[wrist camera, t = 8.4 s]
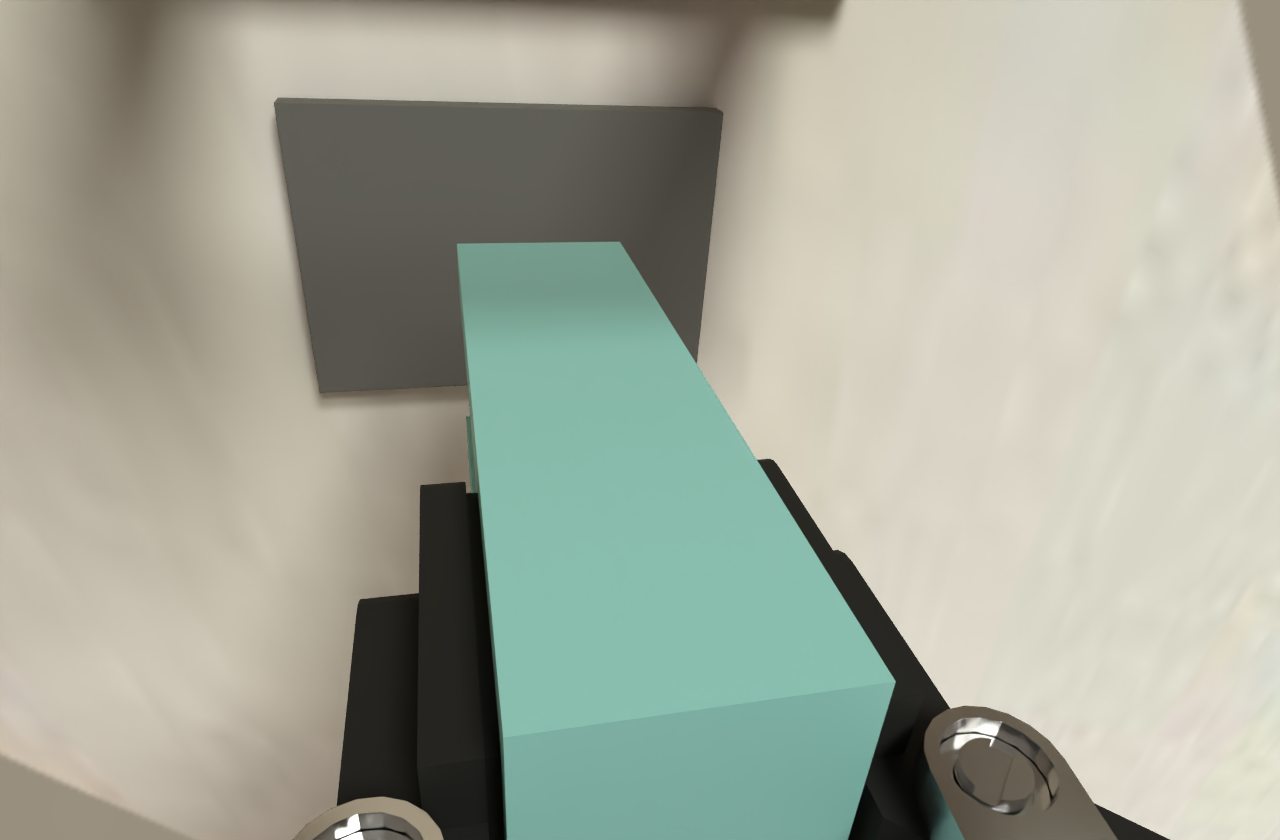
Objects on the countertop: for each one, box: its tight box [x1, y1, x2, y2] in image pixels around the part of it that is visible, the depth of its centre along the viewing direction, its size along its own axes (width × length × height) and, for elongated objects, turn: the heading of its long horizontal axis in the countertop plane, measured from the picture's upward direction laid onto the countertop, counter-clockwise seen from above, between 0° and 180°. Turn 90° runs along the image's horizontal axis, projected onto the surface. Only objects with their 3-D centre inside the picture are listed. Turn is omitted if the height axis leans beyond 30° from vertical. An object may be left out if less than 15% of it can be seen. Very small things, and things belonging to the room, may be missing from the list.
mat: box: [274, 98, 723, 393], centre depth 20 cm, size 7×10×1 cm
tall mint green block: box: [457, 242, 896, 840], centre depth 12 cm, size 5×3×11 cm, turn 177°
